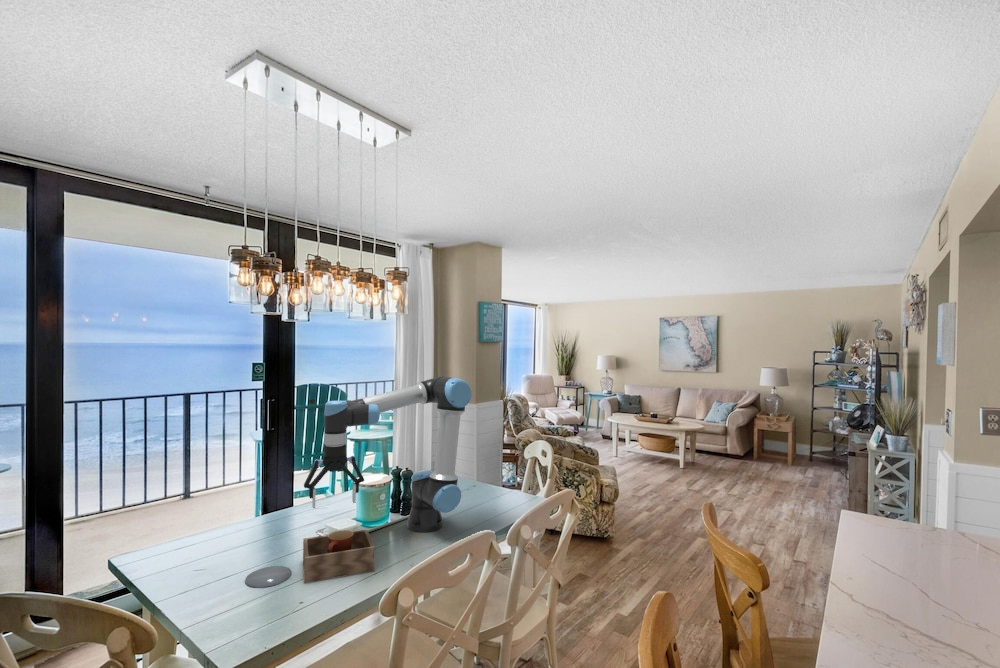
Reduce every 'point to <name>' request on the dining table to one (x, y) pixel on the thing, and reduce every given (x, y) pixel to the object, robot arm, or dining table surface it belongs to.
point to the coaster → (268, 576)
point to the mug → (340, 541)
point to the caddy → (337, 557)
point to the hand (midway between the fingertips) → (334, 504)
